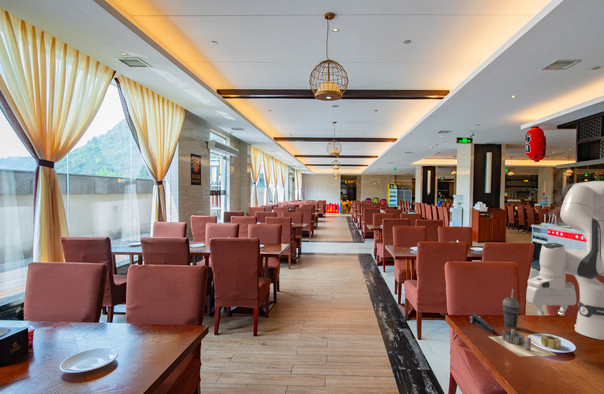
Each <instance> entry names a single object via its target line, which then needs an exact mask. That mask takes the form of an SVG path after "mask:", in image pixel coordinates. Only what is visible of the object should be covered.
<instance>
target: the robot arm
mask: <svg viewBox="0 0 604 394" xmlns="http://www.w3.org/2000/svg"><path fill="white" fill-rule="evenodd" d="M562 197H563V201H562V204H561V208H560V212H559V213H560V215H559V216H560V219H561V221H562V222H563V223H564V224H565V225H567V226H569V227H570V228H573V229H575V230H577V231H580V232H582V237H583V238H584V239H585V240H586V244H585V245H586V246H585V248H586V249H581V248H580V249H579V248H576V249H575V248H574V249H573V248H572V249H565V245H564V244H562V243H558V242H546V243H544V244H542V245H541V249H540V252H539V266H540V270H539V272H538V275H537V276H535V277H532V278H529V279H527V284H528V286H527V287H526V296H525V298H526V302H527V303H528V304H530V305H532V306H534V307H535V309H536V310H537V311H536V312H537V315H538V316H545V311H544V310H542V308H543V306H560V308H559V309H557V315H559V316H565V314H566V313H565V312H566V311H567V309H568V307H569V306H575V305H576V304H577V307H578V311H577V316H576V323H575V324H574V331H575V332H576V333H578V334H580V335H582V336H584V337H589V338H592V339H596V340H599V341H604V283H603V282H601V281H600V280H599V279H597V278H598V277H599V276H604V180H592V181H585V182H573V183H569V184H567V185H565V187H564V188H563V191H562ZM566 275H571V276H574V277H575V279H576V281H577V284H578V289H579V300H578V303H577V292H576V289H575V284H574V283H572V282H566Z"/></svg>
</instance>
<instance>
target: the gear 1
mask: <svg viewBox="0 0 604 394" xmlns="http://www.w3.org/2000/svg"><path fill="white" fill-rule="evenodd" d="M501 336H502V340H504V341H506V342H507V343H511V344H515V345H524V338H526V337H525V334H522V333H520V332H519V331H515V335H511V329H508V330H502V332H501Z"/></svg>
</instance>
